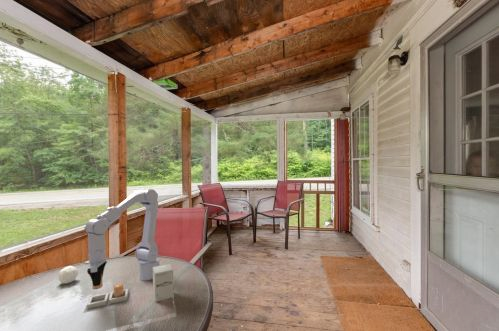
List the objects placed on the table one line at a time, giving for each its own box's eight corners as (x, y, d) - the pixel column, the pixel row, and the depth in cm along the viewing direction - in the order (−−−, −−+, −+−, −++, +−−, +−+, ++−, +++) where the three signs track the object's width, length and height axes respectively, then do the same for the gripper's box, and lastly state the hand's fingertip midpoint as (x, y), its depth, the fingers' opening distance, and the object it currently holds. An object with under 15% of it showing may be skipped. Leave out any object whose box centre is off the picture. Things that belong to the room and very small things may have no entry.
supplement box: (154, 305, 94) (154, 273, 94) (153, 296, 101) (152, 266, 101) (174, 300, 97) (173, 269, 97) (171, 291, 104) (170, 262, 104)
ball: (64, 288, 115) (59, 272, 117) (83, 278, 119) (77, 263, 121) (57, 287, 108) (52, 270, 111) (77, 276, 112) (72, 261, 115)
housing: (130, 292, 104) (130, 286, 104) (128, 305, 94) (128, 298, 94) (89, 300, 98) (89, 294, 98) (83, 315, 88) (83, 308, 88)
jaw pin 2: (123, 294, 100) (123, 283, 100) (123, 299, 97) (122, 286, 97) (114, 296, 99) (114, 284, 99) (113, 301, 96) (113, 288, 96)
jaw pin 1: (103, 284, 97) (103, 272, 97) (101, 288, 94) (101, 275, 94) (93, 286, 96) (93, 273, 96) (91, 290, 93) (91, 277, 93)
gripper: (89, 245, 100) (89, 277, 100) (80, 257, 87) (81, 294, 87) (108, 242, 103) (109, 274, 103) (102, 253, 89) (103, 289, 89)
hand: (97, 283), depth 95 cm, fingers closed on jaw pin 1, 3 cm apart
